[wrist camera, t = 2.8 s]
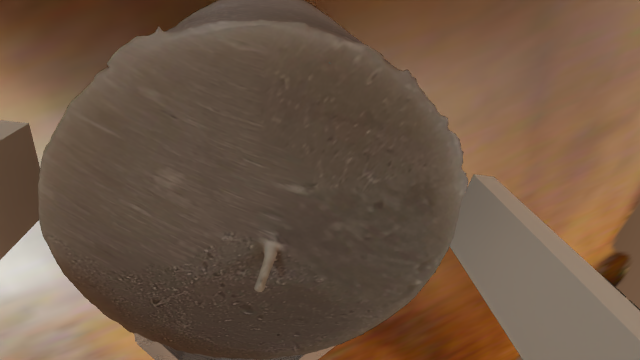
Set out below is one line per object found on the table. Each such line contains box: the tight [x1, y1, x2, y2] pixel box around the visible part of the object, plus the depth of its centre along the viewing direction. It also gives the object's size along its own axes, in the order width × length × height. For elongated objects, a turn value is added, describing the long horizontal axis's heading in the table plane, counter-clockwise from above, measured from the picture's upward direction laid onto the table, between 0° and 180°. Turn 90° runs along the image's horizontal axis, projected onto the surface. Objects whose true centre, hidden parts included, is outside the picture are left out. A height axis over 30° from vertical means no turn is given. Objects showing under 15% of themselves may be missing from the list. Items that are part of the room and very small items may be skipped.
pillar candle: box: [38, 0, 468, 360], centre depth 13 cm, size 10×10×15 cm
